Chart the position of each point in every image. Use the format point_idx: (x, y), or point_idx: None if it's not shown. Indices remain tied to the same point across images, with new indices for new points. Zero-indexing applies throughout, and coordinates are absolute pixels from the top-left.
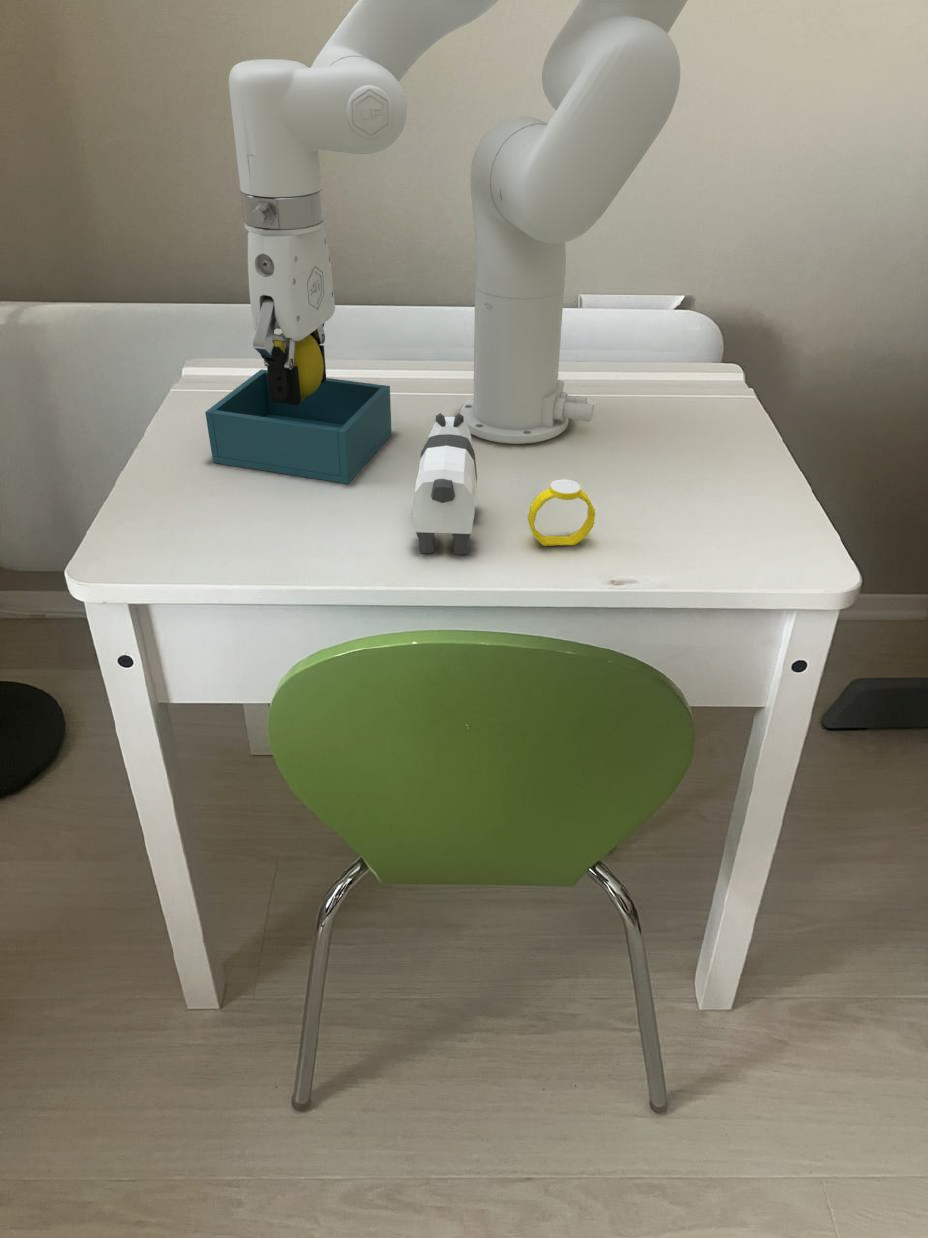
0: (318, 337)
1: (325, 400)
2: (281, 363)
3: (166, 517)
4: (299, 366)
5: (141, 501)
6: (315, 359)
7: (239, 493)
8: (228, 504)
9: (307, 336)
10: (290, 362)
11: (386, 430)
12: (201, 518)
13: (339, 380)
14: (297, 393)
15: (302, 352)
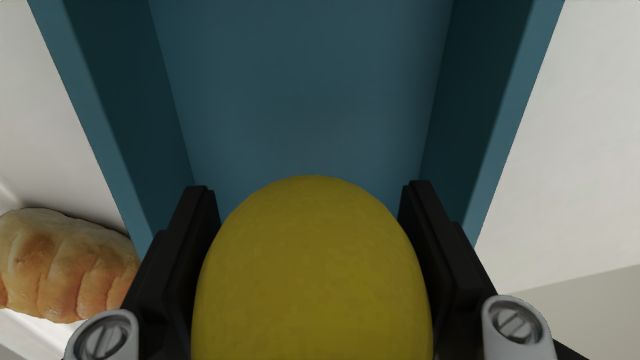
0: (141, 357)
1: (162, 160)
2: (566, 348)
3: (614, 213)
4: (419, 283)
5: (554, 261)
6: (348, 262)
7: (531, 152)
8: (577, 150)
9: None
10: (517, 327)
11: None
12: (628, 167)
13: (105, 156)
14: (441, 204)
15: (406, 337)
